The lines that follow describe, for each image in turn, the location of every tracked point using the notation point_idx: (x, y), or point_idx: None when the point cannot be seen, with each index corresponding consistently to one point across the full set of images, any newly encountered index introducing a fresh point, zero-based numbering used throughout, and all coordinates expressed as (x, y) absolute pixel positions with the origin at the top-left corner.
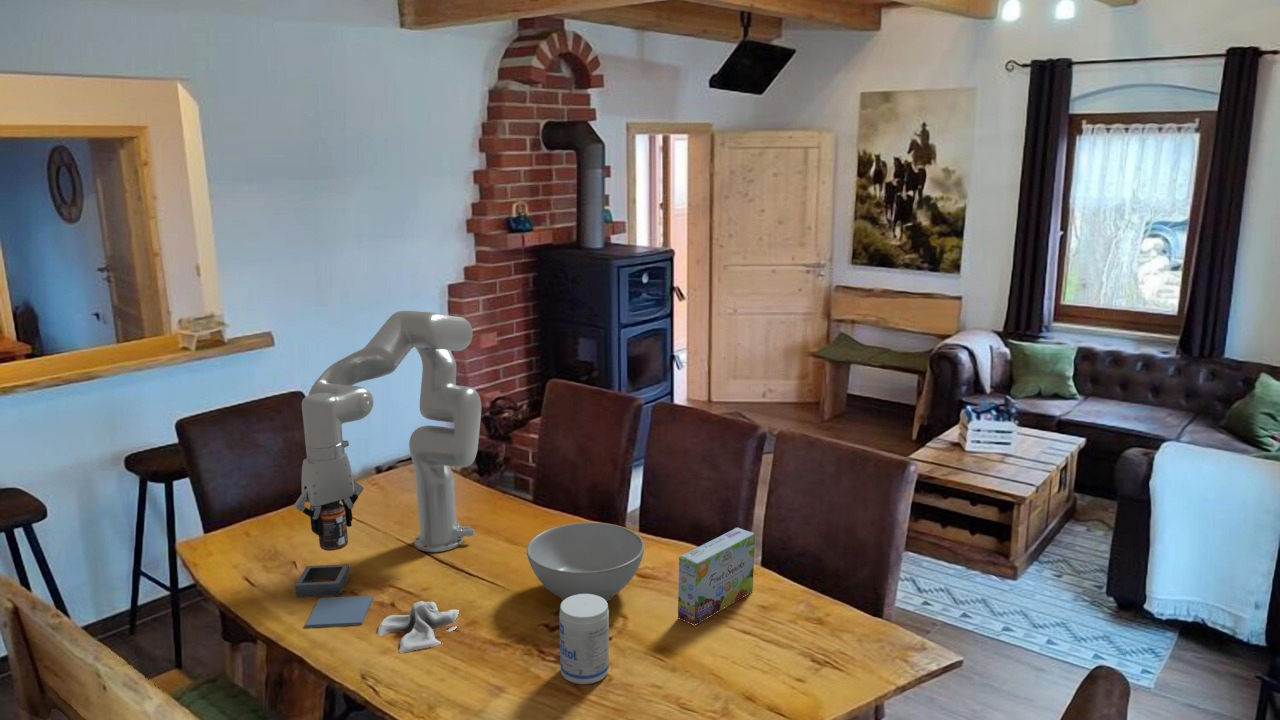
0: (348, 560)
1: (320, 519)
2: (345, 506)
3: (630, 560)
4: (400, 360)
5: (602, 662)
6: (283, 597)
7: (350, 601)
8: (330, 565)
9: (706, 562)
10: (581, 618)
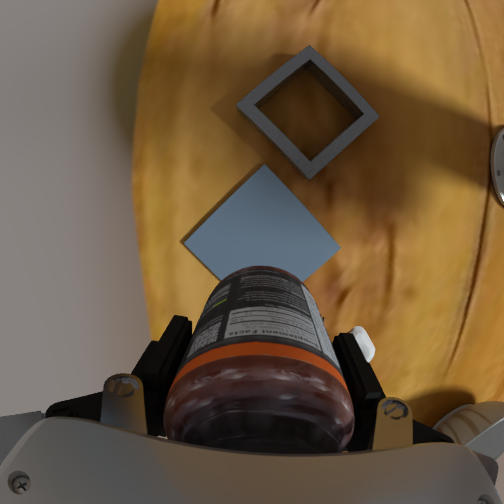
0: (399, 67)
1: (165, 432)
2: (351, 446)
3: (482, 445)
4: None
5: None
6: (222, 91)
7: (297, 231)
8: (348, 85)
9: None
10: None
